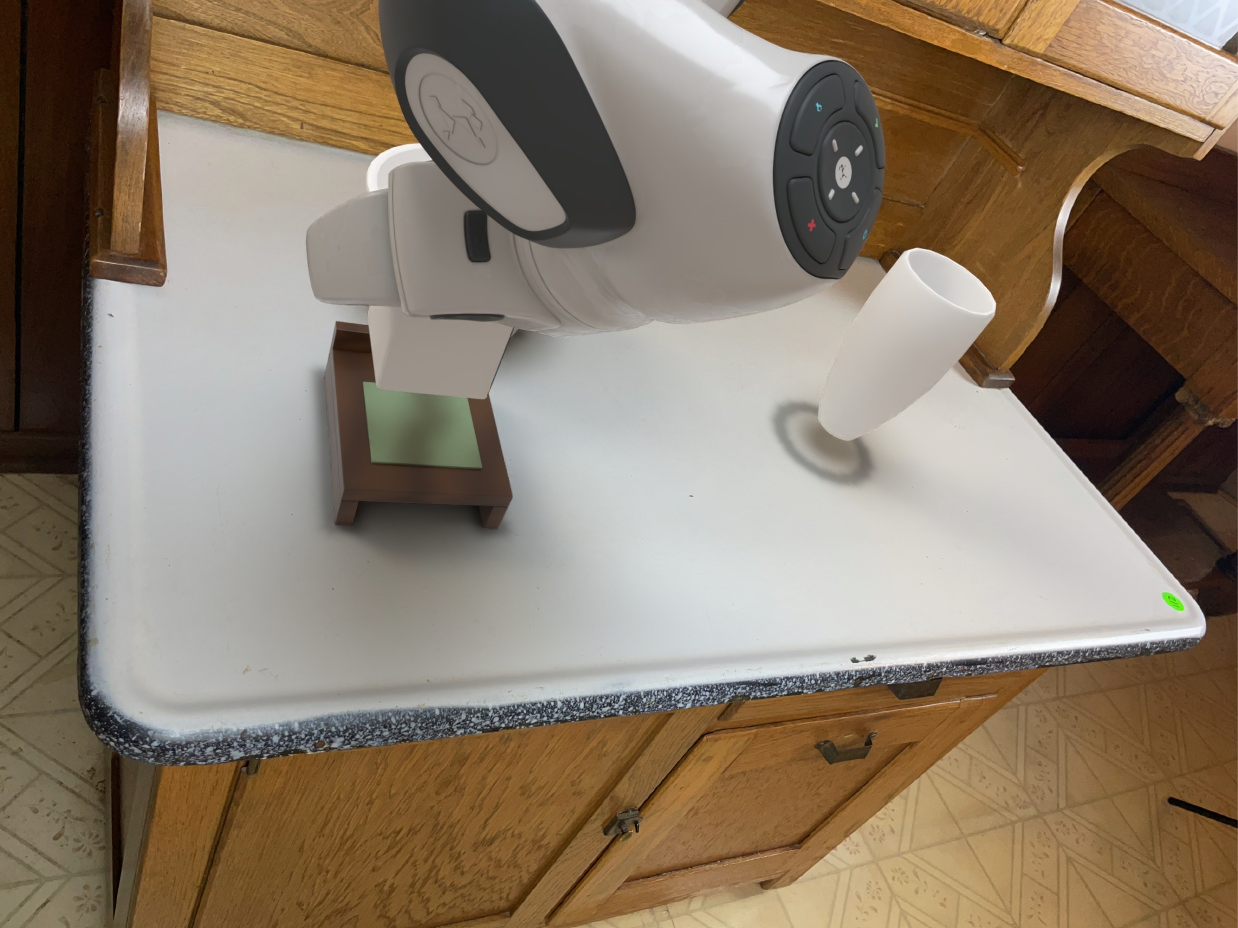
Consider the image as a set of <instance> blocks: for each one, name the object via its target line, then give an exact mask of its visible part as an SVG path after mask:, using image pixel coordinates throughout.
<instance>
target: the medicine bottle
mask: <svg viewBox="0 0 1238 928" xmlns="http://www.w3.org/2000/svg"><path fill="white" fill-rule="evenodd" d="M367 323H368V324H367V325H369V332H370V340H371V348H372V356H373V364H374V372H375V379H376V386H377V388H379V389H381V390H391V391H401V392H412V393H422V394H433V395H443V396H454V397H464V398H475V399H485V398H487V396H488V394H489V395H490V391H491V389H492V386H493V384H494V382H495V379H496V376H497V374H498V371H499V368H500V366H501V363H502V361H503V359H504V356H505V353H506V350H507V348H508V345H509V342H510V339H511V338H512V337H511V335H512V332H513V330H514V327H510V326H506V325H502V324H498V323H494V322H479V321H469V320H442V319H438V320H433V319H430V318H411V317H408V316H406V315H405V314H404V313H403V309H402V307H387V306H368V312H367Z"/></svg>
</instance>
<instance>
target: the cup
mask: <svg viewBox="0 0 1238 928" xmlns="http://www.w3.org/2000/svg"><path fill="white" fill-rule="evenodd" d="M895 261H896V262H895V263H894V264H893V265H892V267H891V268H890V269H889V270H888V271H887V273H886V274H885V275H884V276H883V278H882V279H881V281H880V282H879V283H878V284H877V285H876V287H875V288H874V290H872V292H871V293H870V295H869V297H868V298H867V299H866V301H865V302H864V304H863V306H862V307H861V308H860V310H859V312H858V313H857V315H856V316H855V318H854V320H853V321H852V322H851V324H850V326H849V327H848V329H847V330H846V333H845V335H844V337H843V339H842V341H841V343H840V346H839V348H838V351H837V352H836V354H835V357H834V359H833V362H832V364H831V365H830V368H829V370H828V373H827V375H826V378H825V382H824V384H823V385H824V386H823V389H822V392H821V396H820V398H819V404H818V409H817V419H818V422H819V423H820V425H821V426H822V428H823V429H824V430H825V431H826V432H827V433H828V434H830V435H831V436H833V437H834V438H836V439H838V440H842V441H853V440H855V439H857V438H860V437H862V436H864V435H866V434H868V433H871V432H873V431H874V430H875V429H877V428H879V427H880V426H882V425H884V424H886V423H887V422H889V421H891V420H893V419H894V418H896V417H897V416H899V415H901V413H902V412H904V411H905V410H907V409H908V408H909V407H910V406H912V405H913V404H914V403H916V402H917V401H918V400H920V399H921V398H922V397H923V396H925V395H926V394H927V393H929V392H930V391H931V390H932V389H933V388H934V387H935V386H936V385H937V383H939V382H940V381H941V380H942V379H943V377H944V376H945V375H946V374H947V373H948V372H949V371H950V370H951V369H952V368H953V367H954V366H955V365H956V364H957V363H958V362H959V360H961V359H962V358H963V356H964V355H965V353H967V351H968V350H969V348H970V347H971V346H972V345H973V344H974V342H975V341H976V340H977V339H978V337H979V336H980V335H981V334H982V332H983V331H984V330H985V328H986V327H987V326H988V325H989V323H990V322H991V321H992V320H993V319H994V317H995V316H996V309H997V303H996V300H995V299H994V297H993V295H992V293H991V291H990V290H989V289H988V288H987V287H986V286H985V284H984V283H983V282H982V281H981V280H980V279H979V278H978V277H976V276H975V275H974V274H972V272H970V270H968V269H967V268H966V267H964V266H963V265H961V264H959V263H957V262H956V261H954V260H952V259H951V258H949V257H948V256H945V255H943V254H940V253H939V252H936V251H933V250H931V249H925V248H920V247H915V248H911V249H908V250H907V249H906V250H904V251H903V252H902V253H901V255H900V256H899V258H898V259H896V260H895Z"/></svg>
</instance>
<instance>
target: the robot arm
mask: <svg viewBox="0 0 1238 928" xmlns="http://www.w3.org/2000/svg"><path fill="white" fill-rule="evenodd" d="M746 1H747V0H378V1H377V2H378V4H377V5H378V9H377V10H378V23H379V24H378V25H379V33H380V40H381V44H382V50H383V55H384V59H385V63H386V67H387V70H388V74H389V77H390V81H391V85H392V87H393V90H394V93H395V97H396V99H397V102H398V105H399V108H400V111H401V113H402V115H403V118H404V120H405V122H406V124H407V126H408V128H409V129H410V131H411V133H412V135H413V136H414V137H415V139H416V140H417V142H418V143H420V145H421V146H422V147H423V149H424V150H425V151H426V152H427V154H428V155H429V156H430V158H431V159H432V160H430V161H425V162H409V163H405V164H402V165H400V166H397V167H395V168H394V169H392V170H391V171H390V172H389V174H388V188H387V189H381V190H376V191H372V192H368V193H366V192H365V193H362V194H359V195H357V196H355V197H352V198H350V199H348V200H346V201H345V202H343V203H341V204H339V205H337V206H335V207H334V208H332V209H330V210H329V211H327V212H325V213H324V214H323V215H321V216H320V217H318V218H317V219H315V220H314V221H312V223H311V224H310V225H309V226H308V227H307V230H306V232H305V233H306V234H305V251H306V253H305V254H306V261H307V270H308V278H309V282H310V288H311V291H312V294H313V296H314V297H315V299H316V300H317V301H319V302H320V303H323V304H327V305H337V306H358V307H359V306H361V307H363V306H364V307H370V306H387V307H402V309H403V313H404V314H405V315H406V316H408V317H411V318H430V319H433V320H438V319H442V320H469V321H479V322H494V323H498V324H502V325H506V326H510V327H514V328H518V330H524V331H530V332H531V331H532V332H535V333H538V334H541V335H544V336H548V337H554V338H568V337H579V336H588V335H597V334H598V335H599V334H606V333H617V332H627V331H631V330H635V329H639V328H642V327H644V326H647V325H649V324H651V323H652V322H658V323H663V324H669V325H691V324H701V323H711V322H717V321H718V322H719V321H725V320H726V321H727V320H731V319H732V320H733V319H738V318H743V317H744V318H745V317H747V316H754V315H757V314H762V313H767V312H771V311H773V310H777V309H781V308H786V307H787V306H791V305H793V304H797V303H799V302H802V301H804V300H806V299H809V298H811V297H813V296H816V295H818V294H819V293H821V292H823V291H824V290H826V289H828V288H830V287H831V286H833V285H834V284H836V283H837V282H839V281H840V280H841V279H842V278H843V277H844V276H845V275H846V274H847V272H848V271H849V270H850V268H851V267H852V265H854V262H855V261H856V259H857V258H858V256H859V254H860V253H861V251H862V249H863V248H864V246H865V244H866V242H867V241H868V238H869V237H870V234H871V232H872V230H873V228H874V226H875V223H876V220H877V217H878V215H879V212H880V210H881V209H880V208H881V205H882V202H883V191H884V185H885V174H886V173H885V172H886V170H885V169H886V163H887V156H886V155H887V154H886V145H885V144H886V143H885V136H884V130H883V125H882V122H881V118H880V117H881V116H880V113H879V109H878V106H877V104H876V101H875V97H874V96H873V92H872V91H871V89H870V87H869V86H868V83H867V82H866V80H865V79H864V78H863V76H862V75H861V74H860V72H859V71H858V70H856V68H855V67H854V66H852V65H851V64H850V63H848V62H847V61H845V60H843V59H841V58H839V57H836V56H832V55H828V54H827V55H826V54H819V53H818V54H817V53H816V54H815V53H809V52H808V53H807V52H801V51H795V50H791V49H788V48H785V47H782V46H780V45H777V44H775V43H772V42H770V41H768V40H766V39H764V38H762V37H760V36H758V35H756V34H755V33H752V32H750V31H749V30H747V29H744V28H743V27H741V26H739V25H738V24H736V23H734V22H732V21H731V19H729V18H730V17H732V15H733V14H734V13H735V12H736V11H737V10H739V8H741V6H742V5H743V4H744V3H745V2H746Z"/></svg>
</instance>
